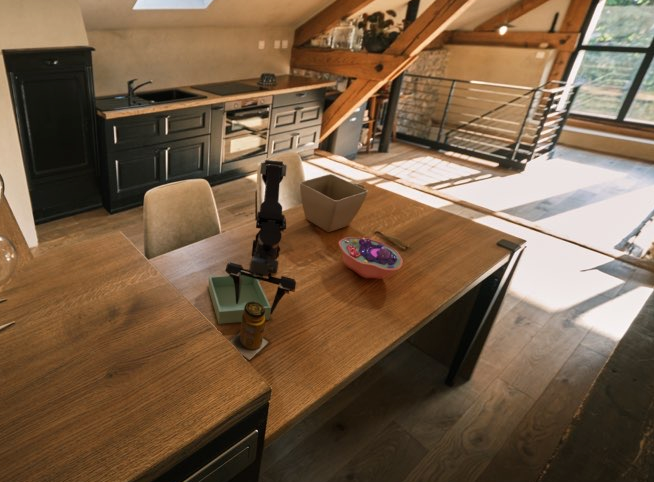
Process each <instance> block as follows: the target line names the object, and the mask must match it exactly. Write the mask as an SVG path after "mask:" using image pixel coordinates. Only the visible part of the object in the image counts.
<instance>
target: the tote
mask: <svg viewBox="0 0 654 482" xmlns="http://www.w3.org/2000/svg"><path fill="white" fill-rule="evenodd" d="M254 276H255V275H254ZM240 278H241V279H242V284H241V291H240V298H239V302H238V304H236V296H235V285H234V281H233V278H231V277H230V276H229V274H226V275H209V276H208V286H207V287H208V291H209V295H210V298H211V302H212V306H213V309H214V312H215V316H216V320H217V322H218V325H221V324H234V323H241V321H242V314H243V312H244V307H245V305H246V304H247V303H248V302H258V303H260V304H261V305H263V307H264V309H265V313H264V314H265V315H264V316H265V321H269V320H270V318H271V314H270V312H271V307H272V305H271V304H270V302H269V300H268V297H267V296H266V293H265V291H264V290H263V288H262V285H261V283H260V280H258V279H254V278H250V277H247V276H243V275H242V276H241V277H240Z"/></svg>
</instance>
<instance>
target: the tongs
mask: <svg viewBox="0 0 654 482" xmlns="http://www.w3.org/2000/svg"><path fill="white" fill-rule="evenodd" d="M374 233H375V234H378V235H379V236H382V237H383V238H385V239H387V241H390V242H391V243H392V244H393V245H396V246H397V247H399V248H400V249H402V250H404V251H405V250H406V248H407V249H408V248H409V247H410V245H409V243H405V242H404V241H402V240H400V239H399V238H397V237H394V236H390V235H387V234H384V233H382V232H381V231H378V230H375V231H374ZM401 244H402V245H403V246H402V245H401Z"/></svg>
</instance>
